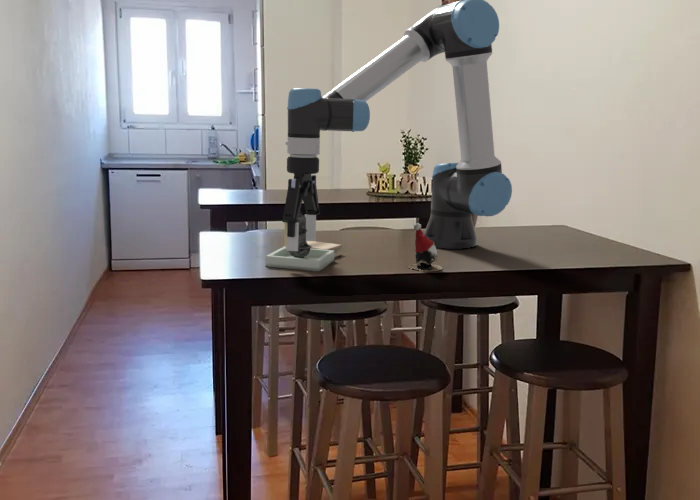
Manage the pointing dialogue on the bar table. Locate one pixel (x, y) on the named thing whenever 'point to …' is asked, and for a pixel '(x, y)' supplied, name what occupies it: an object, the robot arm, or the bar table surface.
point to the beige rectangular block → (326, 247)
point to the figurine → (424, 252)
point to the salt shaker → (301, 239)
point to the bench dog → (284, 233)
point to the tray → (300, 259)
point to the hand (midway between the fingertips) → (301, 245)
